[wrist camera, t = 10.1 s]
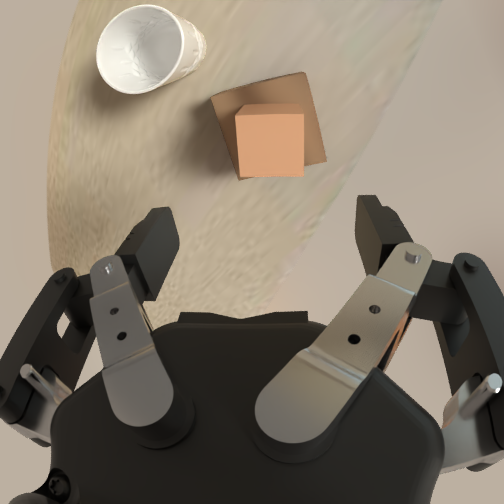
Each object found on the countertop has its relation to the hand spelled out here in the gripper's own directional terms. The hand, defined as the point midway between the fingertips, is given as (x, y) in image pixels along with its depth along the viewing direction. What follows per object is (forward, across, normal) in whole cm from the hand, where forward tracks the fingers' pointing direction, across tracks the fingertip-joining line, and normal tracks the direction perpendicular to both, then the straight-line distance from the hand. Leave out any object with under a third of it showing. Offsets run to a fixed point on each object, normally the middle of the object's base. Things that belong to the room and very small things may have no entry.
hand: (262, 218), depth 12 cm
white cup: (+22, +9, -10) cm, 26 cm away
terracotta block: (+17, 0, 0) cm, 17 cm away
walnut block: (+22, 0, 0) cm, 22 cm away
